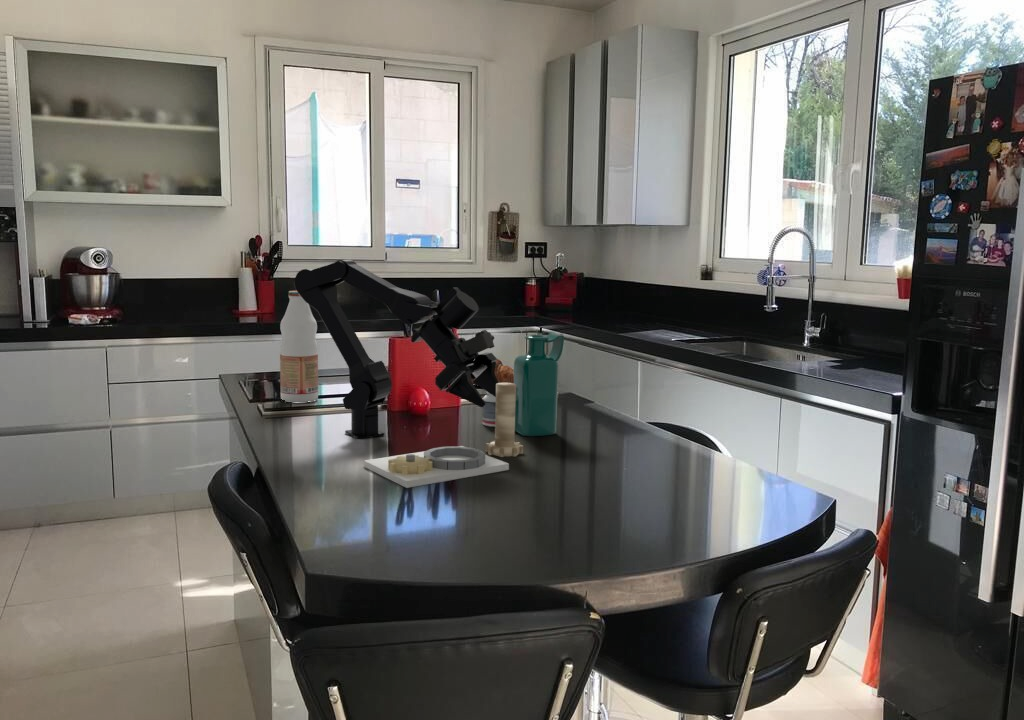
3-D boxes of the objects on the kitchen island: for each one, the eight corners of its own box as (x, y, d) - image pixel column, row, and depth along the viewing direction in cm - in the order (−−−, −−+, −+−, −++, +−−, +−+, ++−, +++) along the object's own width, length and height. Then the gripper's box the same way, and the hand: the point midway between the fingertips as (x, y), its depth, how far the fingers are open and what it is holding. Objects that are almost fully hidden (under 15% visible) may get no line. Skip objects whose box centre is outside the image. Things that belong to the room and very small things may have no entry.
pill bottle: (502, 427, 200) (503, 389, 198) (480, 426, 201) (480, 388, 200) (507, 422, 205) (508, 385, 204) (485, 421, 206) (486, 384, 205)
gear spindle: (478, 450, 178) (480, 383, 176) (508, 446, 183) (509, 380, 181) (500, 458, 173) (501, 388, 170) (530, 453, 177) (532, 385, 175)
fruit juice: (280, 404, 219) (278, 292, 215) (280, 397, 228) (279, 289, 224) (318, 403, 222) (318, 292, 217) (317, 396, 231) (317, 290, 226)
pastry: (471, 391, 244) (472, 363, 243) (455, 382, 259) (455, 355, 257) (527, 389, 251) (528, 361, 249) (508, 380, 265) (509, 353, 263)
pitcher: (523, 437, 191) (526, 337, 188) (509, 429, 199) (511, 332, 195) (564, 434, 194) (567, 336, 191) (549, 426, 202) (552, 331, 199)
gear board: (363, 466, 165) (363, 447, 164) (461, 451, 178) (462, 433, 177) (406, 487, 152) (406, 467, 151) (508, 469, 165) (509, 450, 164)
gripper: (449, 322, 168) (501, 383, 166) (489, 314, 185) (536, 369, 183) (413, 359, 172) (463, 420, 170) (455, 348, 189) (501, 403, 187)
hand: (493, 401), depth 177 cm, fingers open, 9 cm apart
